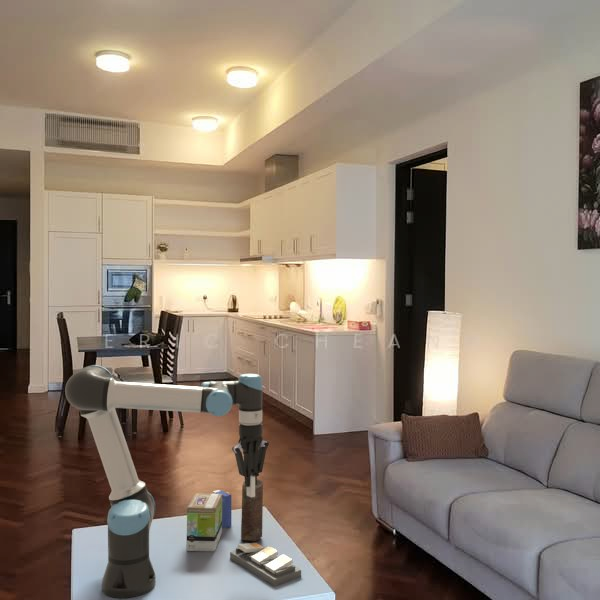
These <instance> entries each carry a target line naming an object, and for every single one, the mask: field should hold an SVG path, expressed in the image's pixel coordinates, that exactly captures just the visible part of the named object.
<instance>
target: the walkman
mask: <svg viewBox="0 0 600 600" xmlns="http://www.w3.org/2000/svg"><path fill="white" fill-rule="evenodd" d="M212 494H222V528H225V529H227V528H231V527H232V524H233V523H232V494H231V493H230V492H228V491H227V492H226V491H223V490H220V489H217V490H213V491H212Z"/></svg>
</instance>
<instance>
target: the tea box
mask: <svg viewBox="0 0 600 600" xmlns="http://www.w3.org/2000/svg"><path fill="white" fill-rule="evenodd" d="M222 529H223V527H222V494H213V493H204V492H203V493H202V492H201V493H200V492H199V493H197V492H196V493H194V495H193V497H192V499H191V500H190V502H189V504H188V506H187V507H186V549H185V550H186V551H187V552H215V551H216V549H217V546H218V544H219V542H220V538H221V537H222V533H223V530H222Z"/></svg>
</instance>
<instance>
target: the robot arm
mask: <svg viewBox="0 0 600 600" xmlns="http://www.w3.org/2000/svg"><path fill="white" fill-rule="evenodd" d="M64 389H65V390H64V392H65V397H66V398H65V399H66V400H67V402H68V404H70V405H71V406H72V407H74V408H75V409H78V411H79V414H80V416H81V417H83V418H85V419H87V422H88V425H89V427H90V431H91V433H92V436H93V439H94V442H95V445H96V448H97V451H98V453H99V458H100V460H101V462H102V466H103V469H104V471H105V472H104V473H105V475H106V477H107V480H108V484H109V487H110V489H111V492H110V494H109V496H108V500H109V503H110V506H111V507H110V509H109V510H108V513H107V519H106V523H107V565H106V568H105V571H104V574H103V577H102V579H101V580H102V581H101V591H102V592H103V594H104V595H106V596H108V597H111V598H116V599H127V598H129V599H130V598H134V597H138V596H141V595H144V594H146V593H148V592H149V591H151V590H152V589H154V588H155V586H156V573H155V570H154V567H153V563H152V561H151V558H150V529H151V527H152V522H153V519H154V517H155V514H156V502H155V500H154V497H153V496H152V494H151V493H150V492H149V491H148V488H147V485H146V482H144V481H142V480H140V478H139V476H138V474H137V471H136V467H135V465H134V461H133V459H132V456H131V452H130V450H129V446H128V444H127V441H126V438H125V435H124V432H123V428H122V425H121V423H120V420H119V417H118V414H117V411H116V409H133V410H134V409H135V410H148V411H149V410H151V411H152V410H153V411H168V412H172V411H173V412H184V413H185V412H187V413H203V414H205V413H206V414H211V415H212V416H215V417H223V416H225V415H227V414H228V413H229V412H230V411H231V409H232V406H236V405H237V406H238V422H239V424H238V436H239V439H238V444H236V445H235V446H232V448H231V449H232V452H233V454H234V456H235V461H236V466H237V471H238V473H239V476H242V477H244V481H245V486H246V487H247V496H249V497H251V498H252V497H255V485H257V479H258V477H259V475H260V473H263V468H264V463H265V459H266V455H267V454H266V453H267V449H268V447H269V445H270V443H269V441H265V440H264V438H263V436H262V435H263V423H262V422H263V391H264V389H263V376H261V375H260V374H258V373H243V374H240V375H239V376H238V380H229V381H228V380H227V381H226V380H225V381H214V380H210V381H203V382H202V383H201V384H200V386H192V385H176V384H161V383H147V382H146V383H144V382H131V381H129V382H128V381H117V380H116V379H115V378H114V377H113V374H112V373H111V372H110V370H108V369H107V368H106V367H104V366H101V365H96V364H92V365H88V366H85V367H82V368H80V369H78V371H77V372H75V373H73V374H72V375H71V376H70V377H69V378H68V380H67V382H66V384H65V388H64Z"/></svg>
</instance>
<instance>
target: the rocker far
mask: <svg viewBox="0 0 600 600" xmlns="http://www.w3.org/2000/svg"><path fill="white" fill-rule="evenodd" d="M237 548H239V549H240V550H242V551H244V552H246V553H248V552H256V551H259V550H262V549H265V547H264V546H262V545H261V544H259V543H257V542H251V543H238V545H237Z"/></svg>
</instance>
